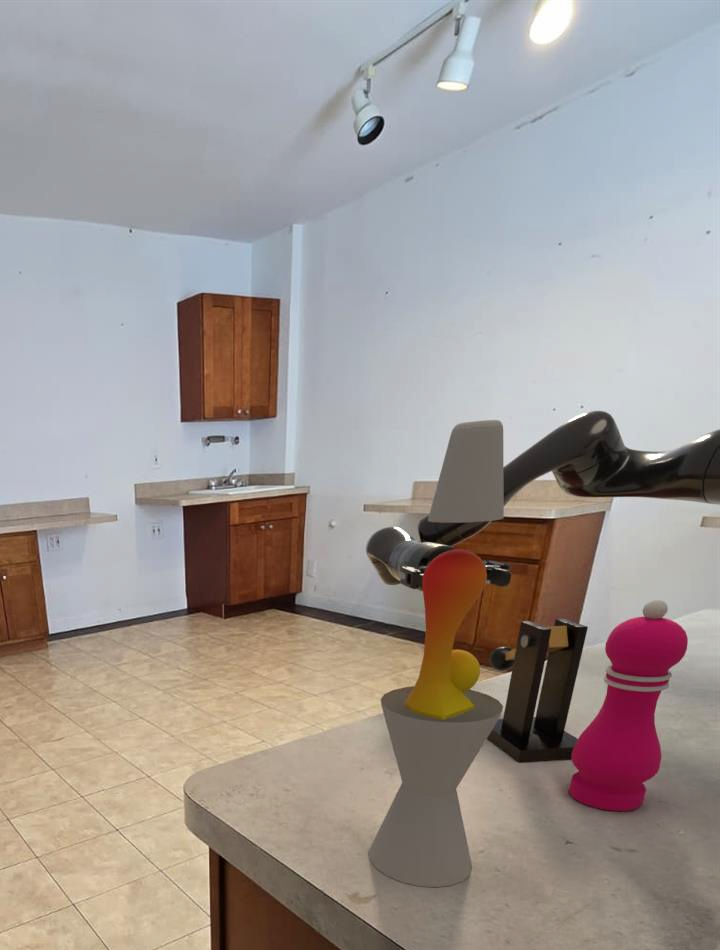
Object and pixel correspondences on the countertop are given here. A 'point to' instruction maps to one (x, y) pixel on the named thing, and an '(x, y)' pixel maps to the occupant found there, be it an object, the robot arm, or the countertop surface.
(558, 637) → the switch lever
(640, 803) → the pepper mill
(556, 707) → the switch bracket
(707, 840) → the countertop surface
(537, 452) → the robot arm
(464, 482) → the lava lamp
